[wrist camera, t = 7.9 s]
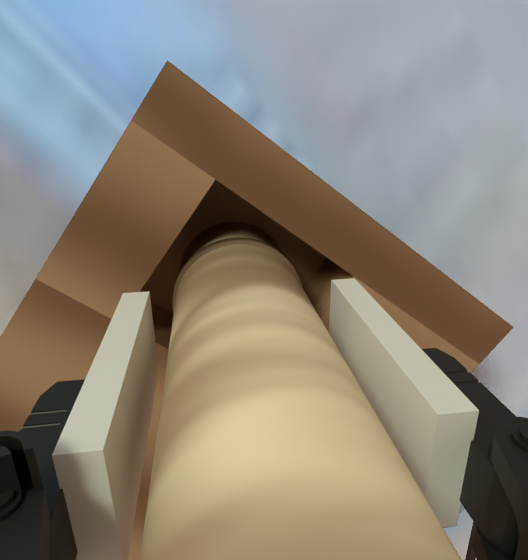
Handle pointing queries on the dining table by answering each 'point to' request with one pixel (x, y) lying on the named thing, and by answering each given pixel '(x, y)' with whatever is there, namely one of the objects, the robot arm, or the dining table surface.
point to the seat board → (186, 226)
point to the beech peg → (270, 426)
